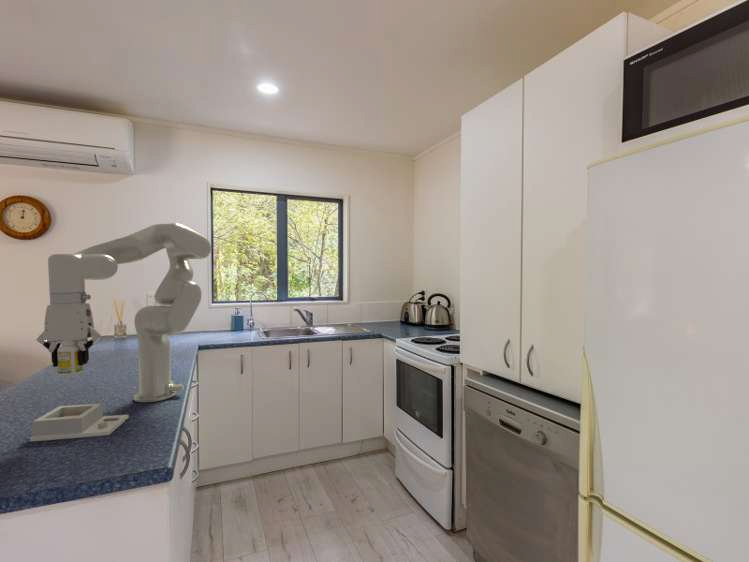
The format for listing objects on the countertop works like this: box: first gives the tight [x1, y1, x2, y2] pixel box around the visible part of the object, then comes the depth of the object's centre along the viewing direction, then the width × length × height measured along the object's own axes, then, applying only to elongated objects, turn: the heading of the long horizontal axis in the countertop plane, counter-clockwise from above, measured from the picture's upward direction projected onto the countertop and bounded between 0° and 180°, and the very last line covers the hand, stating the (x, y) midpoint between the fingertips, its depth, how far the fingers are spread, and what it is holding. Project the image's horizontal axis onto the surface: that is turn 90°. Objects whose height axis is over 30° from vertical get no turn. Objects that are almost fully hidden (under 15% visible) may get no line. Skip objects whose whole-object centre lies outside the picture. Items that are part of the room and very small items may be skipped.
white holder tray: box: [29, 403, 129, 442], centre depth 104 cm, size 18×12×5 cm, turn 102°
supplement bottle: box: [57, 340, 84, 377], centre depth 103 cm, size 5×5×10 cm
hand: (70, 364), depth 103 cm, fingers closed on supplement bottle, 5 cm apart
